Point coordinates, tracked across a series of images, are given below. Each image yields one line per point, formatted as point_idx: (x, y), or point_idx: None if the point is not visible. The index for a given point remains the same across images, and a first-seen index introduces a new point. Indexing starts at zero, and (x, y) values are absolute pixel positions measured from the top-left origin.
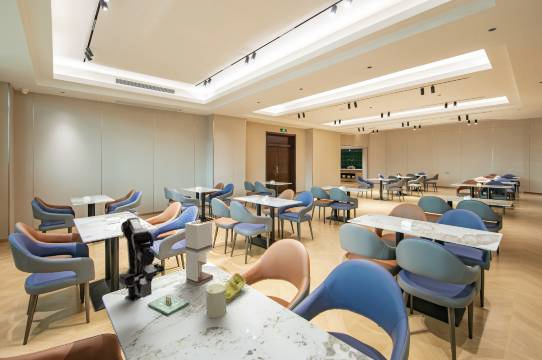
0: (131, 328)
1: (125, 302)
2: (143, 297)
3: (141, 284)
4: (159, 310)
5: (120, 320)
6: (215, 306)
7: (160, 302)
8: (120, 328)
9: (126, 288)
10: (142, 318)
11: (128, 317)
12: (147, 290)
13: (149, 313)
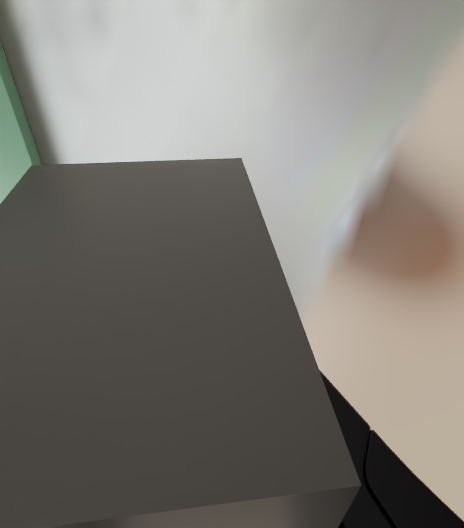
0: (371, 13)
1: None
2: (236, 161)
3: (326, 522)
4: (8, 74)
5: (322, 224)
6: None
7: None
8: (403, 113)
9: None
10: (208, 98)
11: (268, 216)
12: (117, 233)
13: (118, 127)
